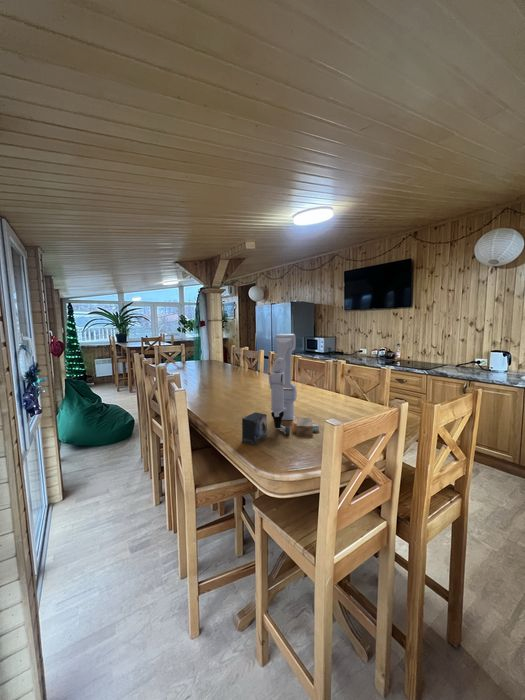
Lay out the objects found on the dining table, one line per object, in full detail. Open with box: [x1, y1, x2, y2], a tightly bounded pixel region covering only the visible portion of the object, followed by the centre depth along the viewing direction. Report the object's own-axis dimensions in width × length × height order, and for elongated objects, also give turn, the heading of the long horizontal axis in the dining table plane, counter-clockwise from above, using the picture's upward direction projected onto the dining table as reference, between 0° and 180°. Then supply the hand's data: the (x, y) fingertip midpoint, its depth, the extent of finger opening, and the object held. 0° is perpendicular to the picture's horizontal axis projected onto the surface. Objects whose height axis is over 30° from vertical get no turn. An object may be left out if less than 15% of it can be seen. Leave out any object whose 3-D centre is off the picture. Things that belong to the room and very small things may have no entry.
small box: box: [241, 411, 268, 446], centre depth 132 cm, size 11×6×10 cm, turn 148°
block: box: [296, 417, 314, 436], centre depth 142 cm, size 7×12×4 cm, turn 174°
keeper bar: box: [276, 424, 286, 434], centre depth 141 cm, size 8×1×2 cm, turn 29°
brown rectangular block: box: [292, 419, 320, 434], centre depth 142 cm, size 12×6×4 cm, turn 84°
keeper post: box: [285, 425, 291, 437], centre depth 137 cm, size 2×2×4 cm
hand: (277, 427), depth 141 cm, fingers closed, pressing on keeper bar
